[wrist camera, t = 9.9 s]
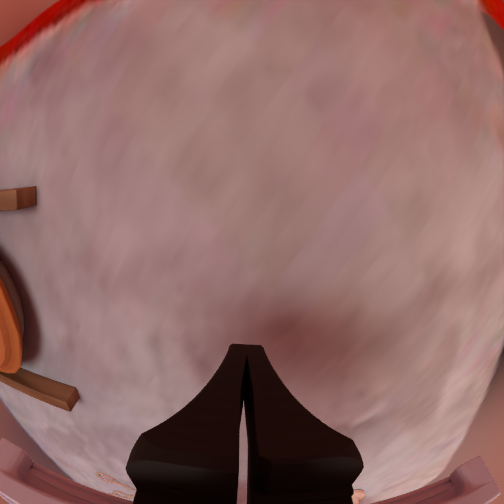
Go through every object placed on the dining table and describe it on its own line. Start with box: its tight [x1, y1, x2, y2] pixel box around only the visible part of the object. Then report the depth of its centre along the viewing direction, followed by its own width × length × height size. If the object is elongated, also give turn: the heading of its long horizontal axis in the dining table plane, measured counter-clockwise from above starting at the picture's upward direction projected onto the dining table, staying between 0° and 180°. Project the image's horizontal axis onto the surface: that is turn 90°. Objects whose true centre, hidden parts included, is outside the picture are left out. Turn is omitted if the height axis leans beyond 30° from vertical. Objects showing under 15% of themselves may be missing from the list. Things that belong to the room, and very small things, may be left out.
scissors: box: [96, 472, 136, 499], centre depth 31 cm, size 11×1×20 cm
